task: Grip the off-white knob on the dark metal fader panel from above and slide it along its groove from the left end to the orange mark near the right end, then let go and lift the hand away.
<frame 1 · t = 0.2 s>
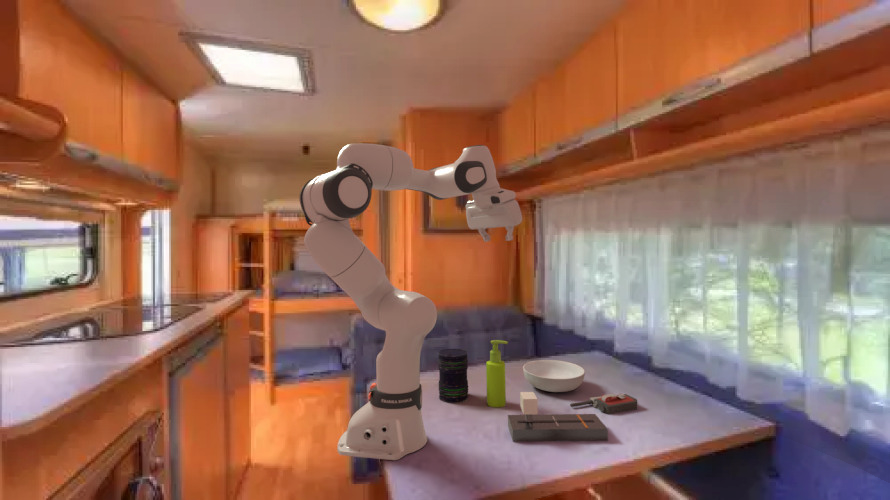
hand: (498, 240, 126), 52 cm above the table, tool tilted 20°, fingers open, 8 cm apart
serving bowl: (553, 388, 140), on the table
fader panel: (555, 432, 106), on the table
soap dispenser: (498, 404, 126), on the table
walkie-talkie: (605, 409, 122), on the table
storage jar: (453, 397, 133), on the table
fader knob: (528, 408, 106), point 7 cm above the table, slide at -7.0 cm
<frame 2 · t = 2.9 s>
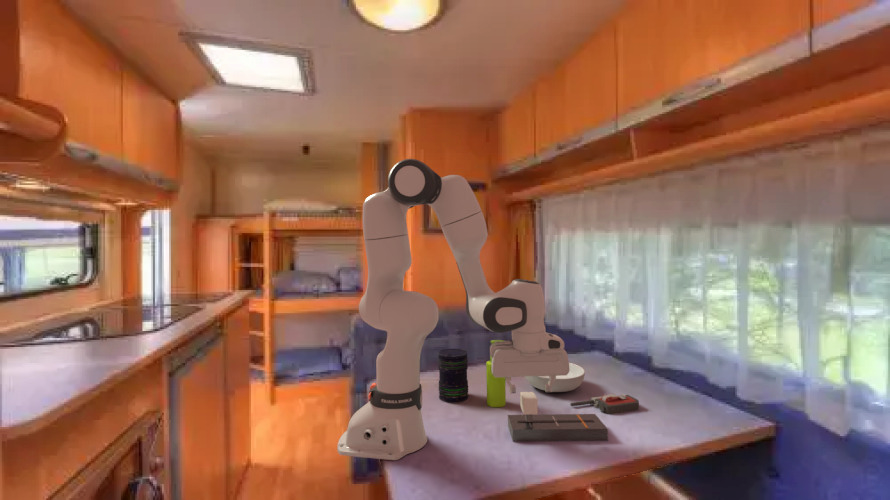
hand: (530, 391, 106), 11 cm above the table, tool pointing down, fingers open, 8 cm apart
nothing on the table moved.
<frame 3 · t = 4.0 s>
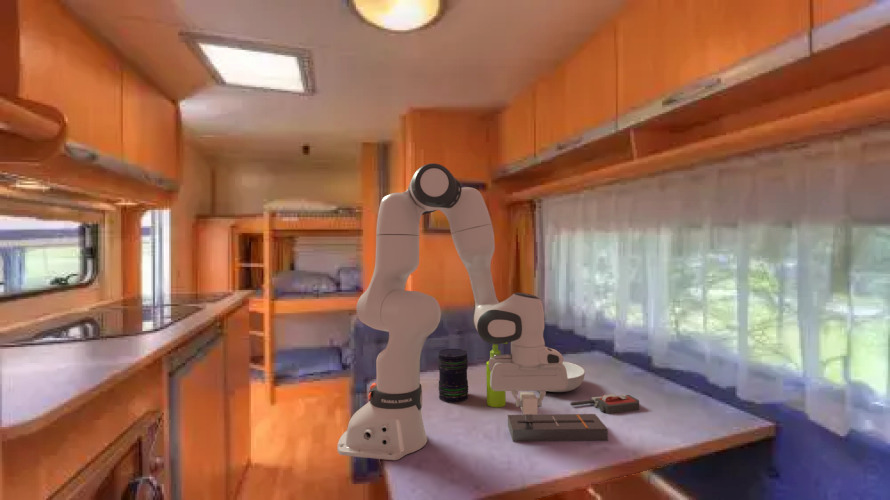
hand: (528, 406, 106), 7 cm above the table, tool pointing down, fingers closed on fader knob, 4 cm apart
fader knob: (528, 408, 106), point 7 cm above the table, slide at -7.0 cm, touching gripper
everything else where it was.
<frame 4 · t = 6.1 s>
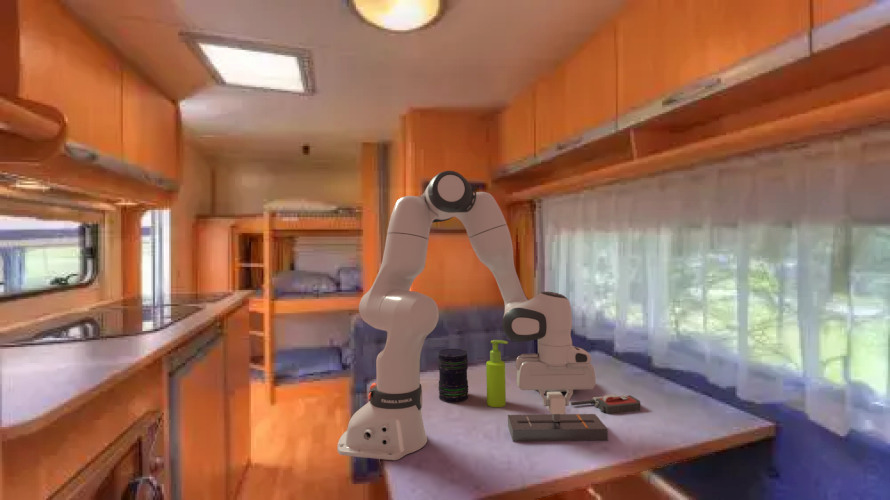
hand: (555, 405, 106), 7 cm above the table, tool pointing down, fingers closed on fader knob, 4 cm apart
fader knob: (556, 407, 106), point 7 cm above the table, slide at 0.2 cm, touching gripper
everything else where it was.
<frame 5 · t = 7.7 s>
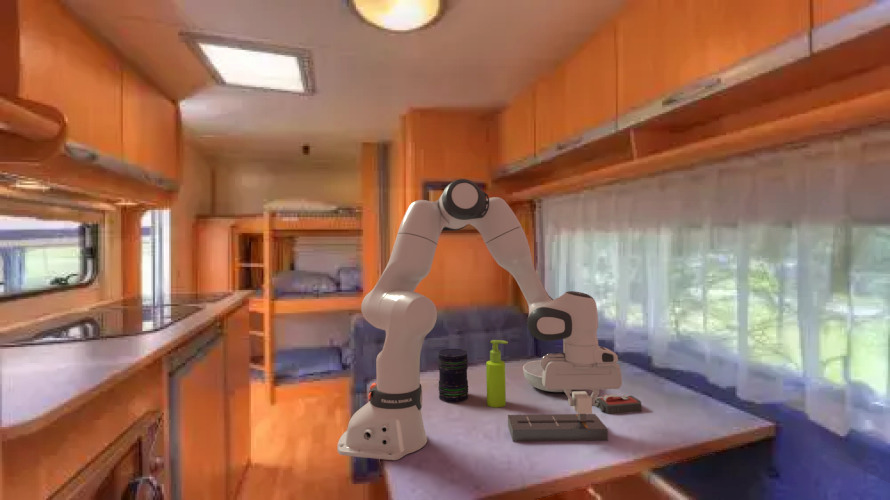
hand: (581, 405, 106), 7 cm above the table, tool pointing down, fingers closed on fader knob, 4 cm apart
fader knob: (581, 407, 106), point 7 cm above the table, slide at 7.0 cm, touching gripper
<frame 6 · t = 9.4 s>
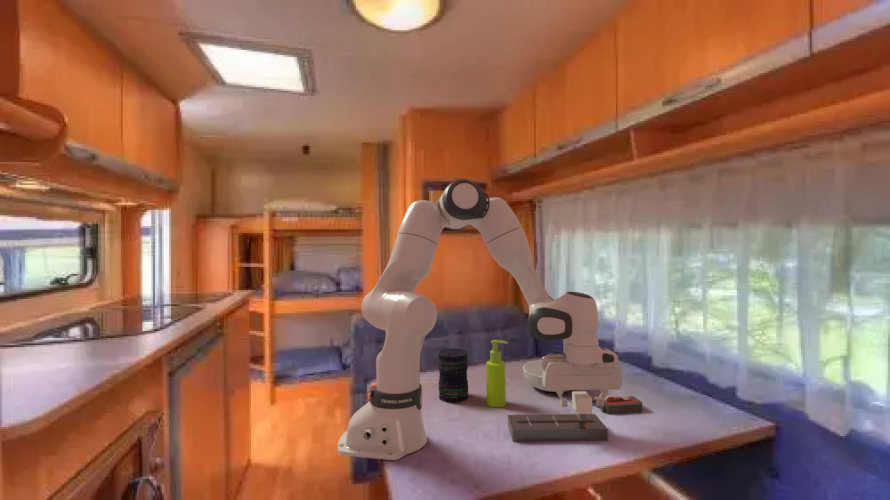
hand: (581, 405, 106), 7 cm above the table, tool pointing down, fingers open, 8 cm apart
fader knob: (582, 407, 106), point 7 cm above the table, slide at 7.1 cm
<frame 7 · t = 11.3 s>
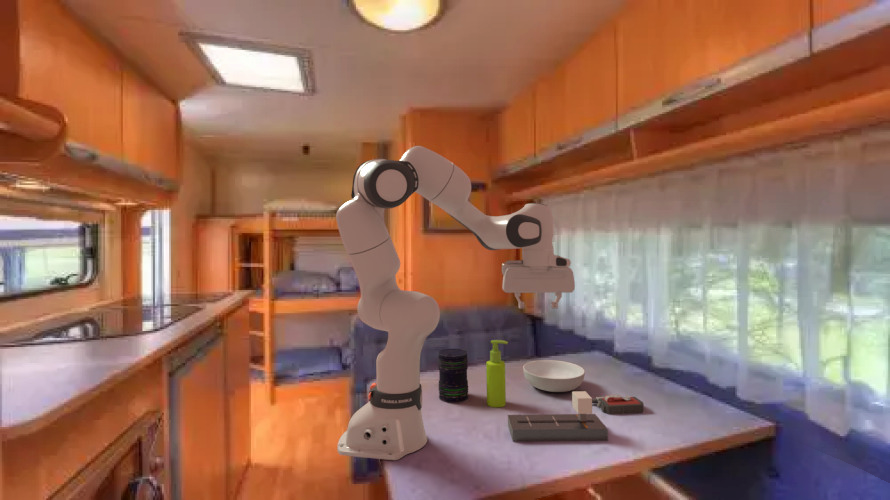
hand: (538, 308, 115), 32 cm above the table, tool pointing down, fingers open, 8 cm apart
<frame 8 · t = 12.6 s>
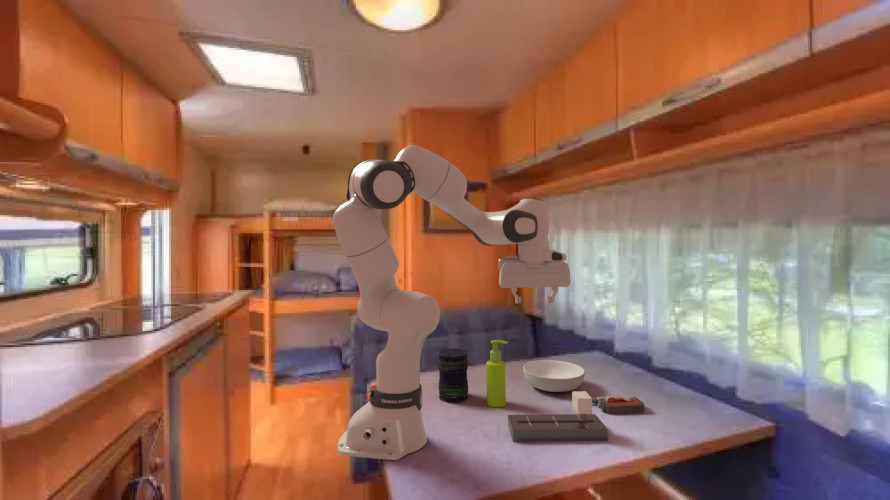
hand: (534, 303, 116), 33 cm above the table, tool pointing down, fingers open, 8 cm apart
at the end: fader knob slide at 7.1 cm; the gripper is holding nothing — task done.
